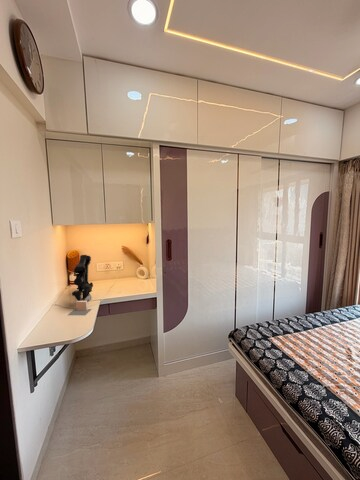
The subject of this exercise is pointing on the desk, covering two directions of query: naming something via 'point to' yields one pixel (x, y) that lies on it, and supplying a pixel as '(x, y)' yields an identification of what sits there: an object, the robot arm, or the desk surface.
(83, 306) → the glazed tile
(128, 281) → the desk surface
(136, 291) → the desk surface
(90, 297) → the caliper
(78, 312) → the rubber mat
